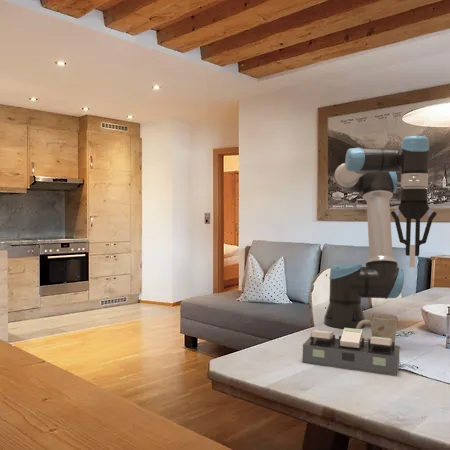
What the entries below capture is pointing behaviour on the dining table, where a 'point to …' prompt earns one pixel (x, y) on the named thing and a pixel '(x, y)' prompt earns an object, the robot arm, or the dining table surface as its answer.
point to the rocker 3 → (381, 340)
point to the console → (352, 355)
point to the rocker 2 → (351, 337)
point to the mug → (381, 325)
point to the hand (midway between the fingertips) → (412, 266)
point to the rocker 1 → (322, 334)
